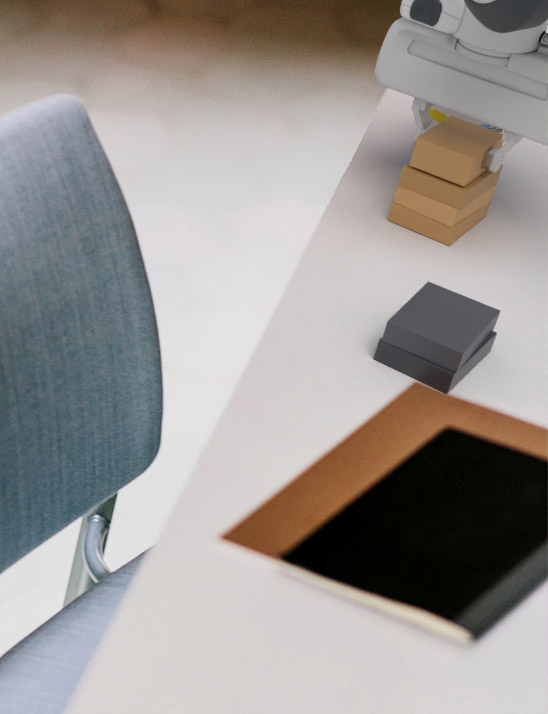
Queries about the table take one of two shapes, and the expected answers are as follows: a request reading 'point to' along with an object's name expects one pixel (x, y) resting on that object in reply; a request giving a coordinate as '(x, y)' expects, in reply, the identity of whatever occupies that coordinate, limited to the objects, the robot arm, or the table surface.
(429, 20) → the robot arm
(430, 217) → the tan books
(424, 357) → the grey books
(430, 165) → the tan rectangular block
